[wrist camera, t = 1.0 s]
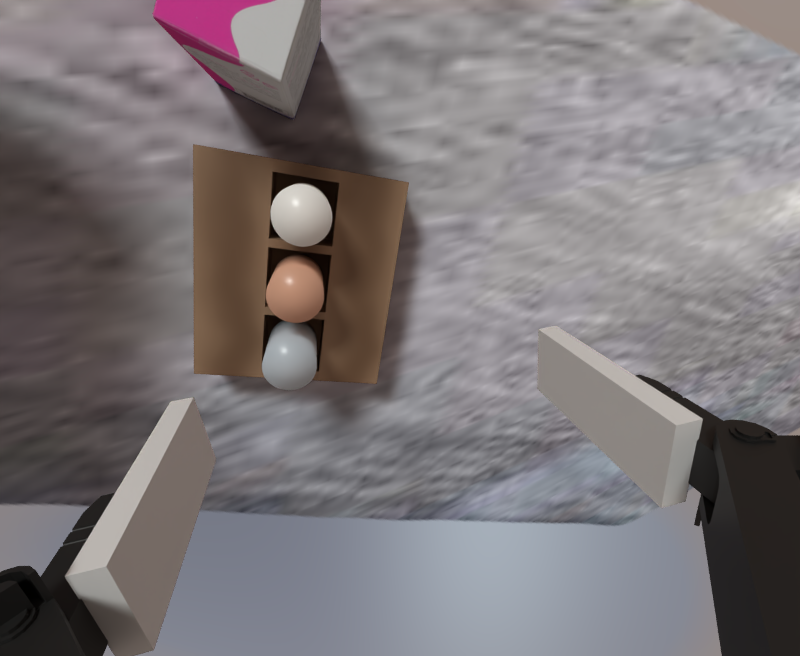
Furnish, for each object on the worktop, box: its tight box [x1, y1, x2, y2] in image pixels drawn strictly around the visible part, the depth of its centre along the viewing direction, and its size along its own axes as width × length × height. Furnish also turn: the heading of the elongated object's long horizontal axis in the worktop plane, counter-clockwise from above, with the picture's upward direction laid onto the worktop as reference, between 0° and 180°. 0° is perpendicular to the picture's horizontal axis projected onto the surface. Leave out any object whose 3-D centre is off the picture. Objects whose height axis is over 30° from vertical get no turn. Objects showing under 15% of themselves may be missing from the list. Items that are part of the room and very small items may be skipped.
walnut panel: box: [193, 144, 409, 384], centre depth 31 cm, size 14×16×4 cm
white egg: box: [271, 183, 332, 247], centre depth 26 cm, size 4×4×5 cm
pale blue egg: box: [262, 320, 317, 390], centre depth 30 cm, size 4×4×5 cm
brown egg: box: [266, 255, 324, 323], centre depth 28 cm, size 4×4×5 cm
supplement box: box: [153, 0, 321, 120], centre depth 22 cm, size 6×6×12 cm
